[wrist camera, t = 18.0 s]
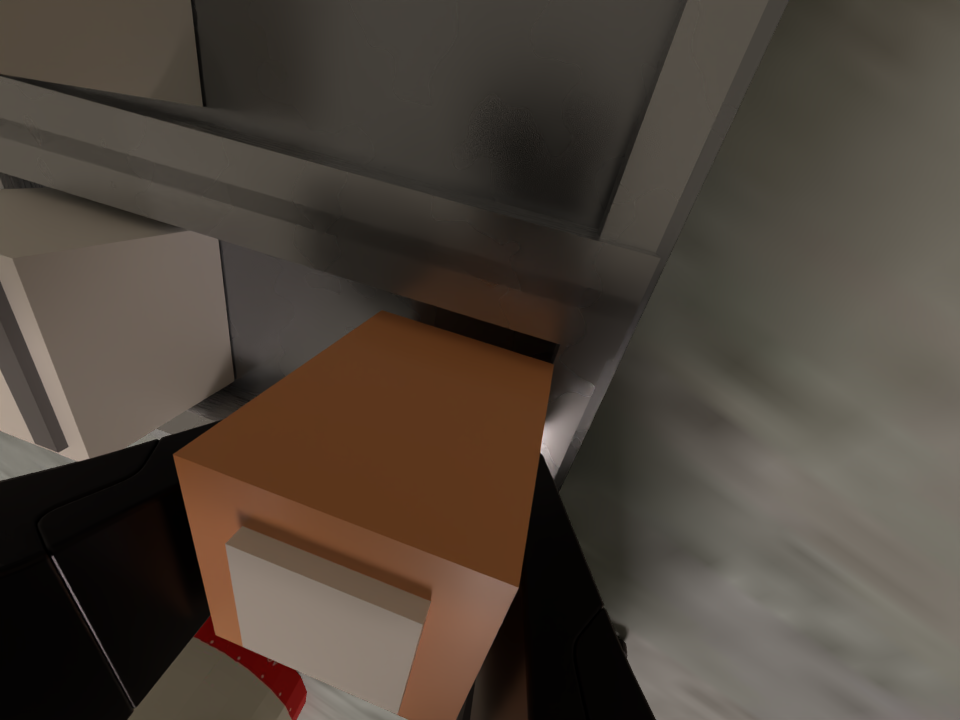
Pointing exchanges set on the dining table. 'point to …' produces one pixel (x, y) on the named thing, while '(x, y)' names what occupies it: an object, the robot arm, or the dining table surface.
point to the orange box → (373, 511)
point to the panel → (419, 170)
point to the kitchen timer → (223, 685)
